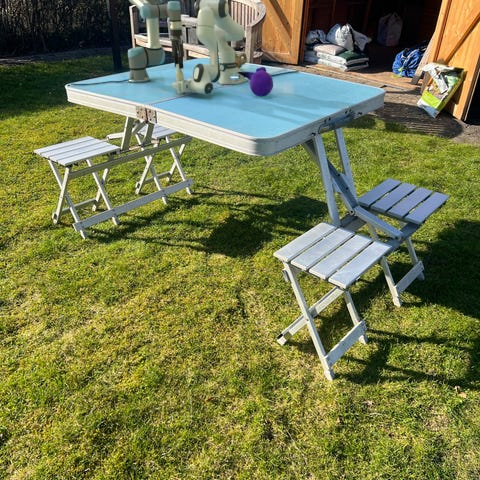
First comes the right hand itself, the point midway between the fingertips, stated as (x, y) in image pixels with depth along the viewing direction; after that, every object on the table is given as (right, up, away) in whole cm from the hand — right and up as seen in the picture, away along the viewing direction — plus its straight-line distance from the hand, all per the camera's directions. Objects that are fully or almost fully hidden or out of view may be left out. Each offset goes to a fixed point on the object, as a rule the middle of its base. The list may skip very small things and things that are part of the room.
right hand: (179, 82), depth 299 cm
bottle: (+1, -6, +3) cm, 7 cm away
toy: (+52, -10, -5) cm, 53 cm away
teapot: (+37, +35, +71) cm, 87 cm away
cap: (0, +9, -6) cm, 11 cm away
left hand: (0, +8, -5) cm, 9 cm away
